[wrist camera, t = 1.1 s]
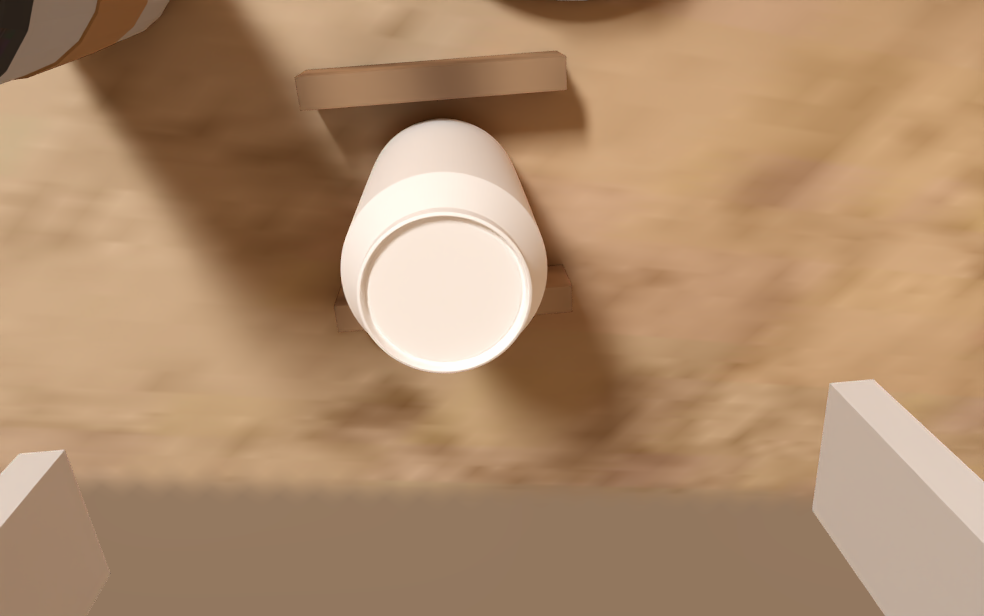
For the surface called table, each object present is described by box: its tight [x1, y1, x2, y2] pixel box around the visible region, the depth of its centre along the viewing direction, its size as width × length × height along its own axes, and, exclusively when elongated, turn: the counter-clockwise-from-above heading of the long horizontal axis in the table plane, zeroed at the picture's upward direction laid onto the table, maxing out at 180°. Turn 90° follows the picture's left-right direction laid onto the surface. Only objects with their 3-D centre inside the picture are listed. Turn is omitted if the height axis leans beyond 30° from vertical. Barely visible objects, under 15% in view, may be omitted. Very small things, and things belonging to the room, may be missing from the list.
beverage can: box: [341, 118, 547, 373], centre depth 26 cm, size 6×6×12 cm
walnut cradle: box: [295, 51, 572, 332], centre depth 30 cm, size 10×10×2 cm
